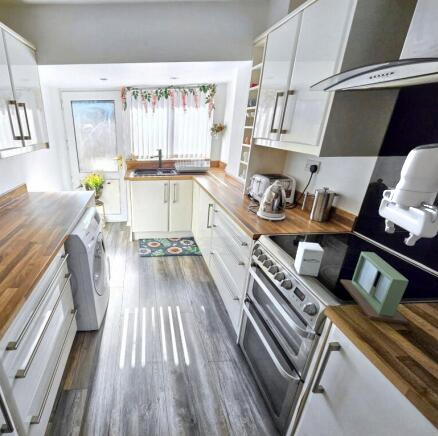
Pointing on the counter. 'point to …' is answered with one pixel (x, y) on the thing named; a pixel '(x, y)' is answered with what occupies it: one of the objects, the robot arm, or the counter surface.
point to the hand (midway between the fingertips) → (398, 238)
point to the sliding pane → (381, 287)
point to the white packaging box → (308, 258)
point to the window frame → (364, 288)
